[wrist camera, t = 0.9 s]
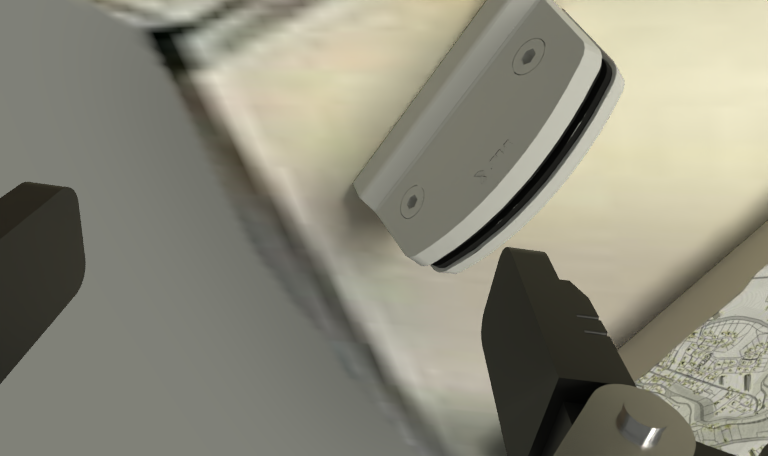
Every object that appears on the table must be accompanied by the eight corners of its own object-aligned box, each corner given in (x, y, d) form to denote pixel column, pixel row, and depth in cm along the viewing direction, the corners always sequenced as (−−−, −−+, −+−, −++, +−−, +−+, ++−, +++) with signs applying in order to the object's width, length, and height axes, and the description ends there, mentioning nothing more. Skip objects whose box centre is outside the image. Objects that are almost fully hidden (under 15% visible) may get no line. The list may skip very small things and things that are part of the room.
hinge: (511, -34, 32) (614, 27, 24) (561, 10, 34) (667, 78, 27) (349, 187, 38) (391, 289, 31) (401, 210, 41) (452, 310, 34)
